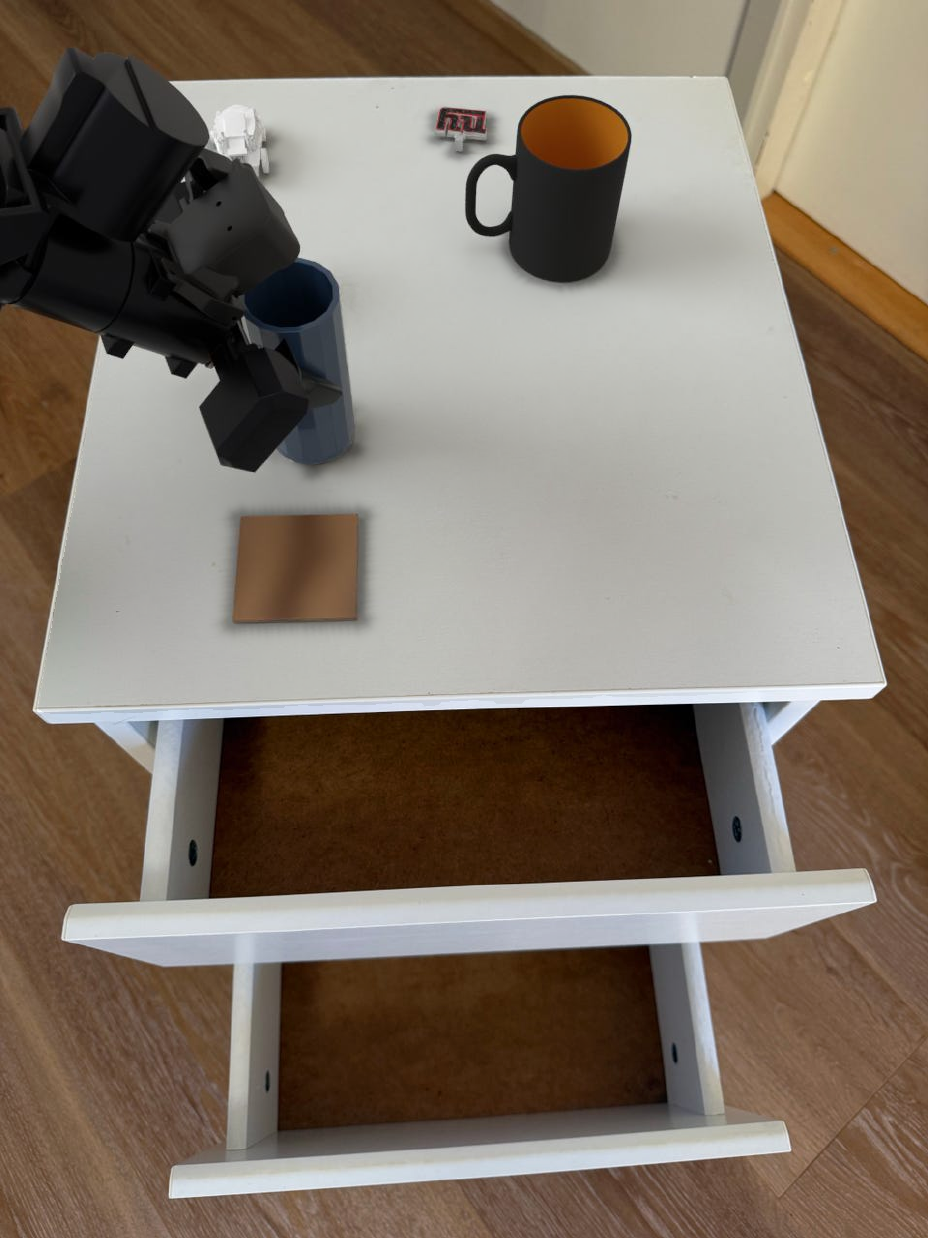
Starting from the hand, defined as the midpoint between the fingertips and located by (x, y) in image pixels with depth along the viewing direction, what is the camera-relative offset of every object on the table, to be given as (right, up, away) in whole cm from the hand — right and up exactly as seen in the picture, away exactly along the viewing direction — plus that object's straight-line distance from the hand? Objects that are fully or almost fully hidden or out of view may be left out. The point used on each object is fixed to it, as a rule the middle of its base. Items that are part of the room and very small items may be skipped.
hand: (321, 361), depth 64 cm
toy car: (-10, +23, +20) cm, 32 cm away
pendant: (+9, +25, +21) cm, 34 cm away
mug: (+15, +13, +16) cm, 25 cm away
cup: (-1, -3, +6) cm, 7 cm away
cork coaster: (-2, -13, +1) cm, 14 cm away
